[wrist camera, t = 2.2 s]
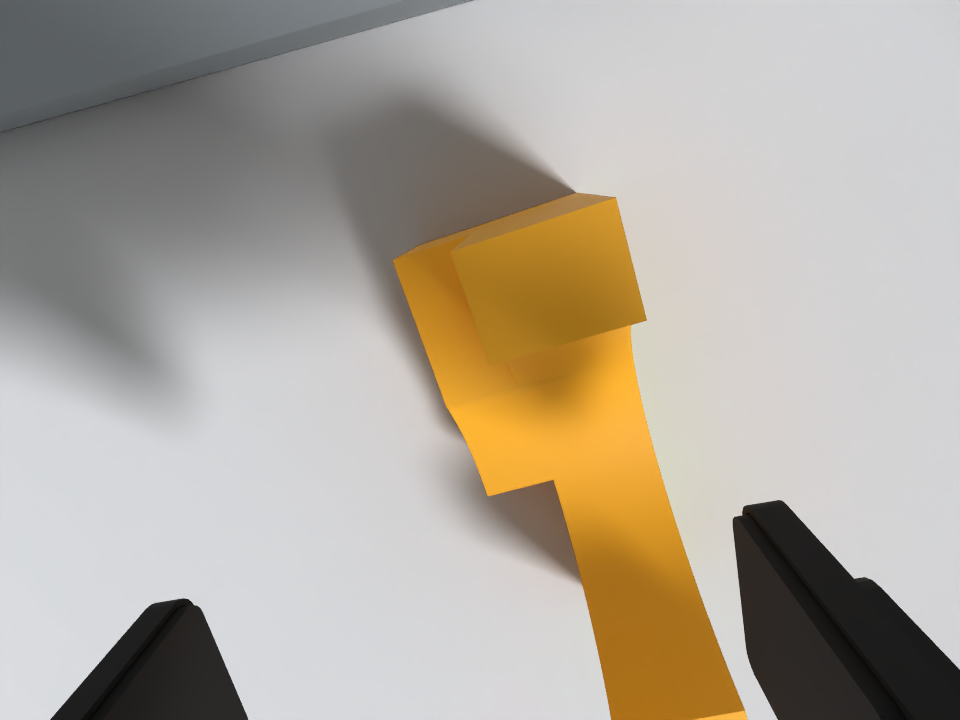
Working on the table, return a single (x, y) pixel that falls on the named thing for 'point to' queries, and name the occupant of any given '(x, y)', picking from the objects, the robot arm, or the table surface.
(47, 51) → the stand
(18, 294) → the table surface
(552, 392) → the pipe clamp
